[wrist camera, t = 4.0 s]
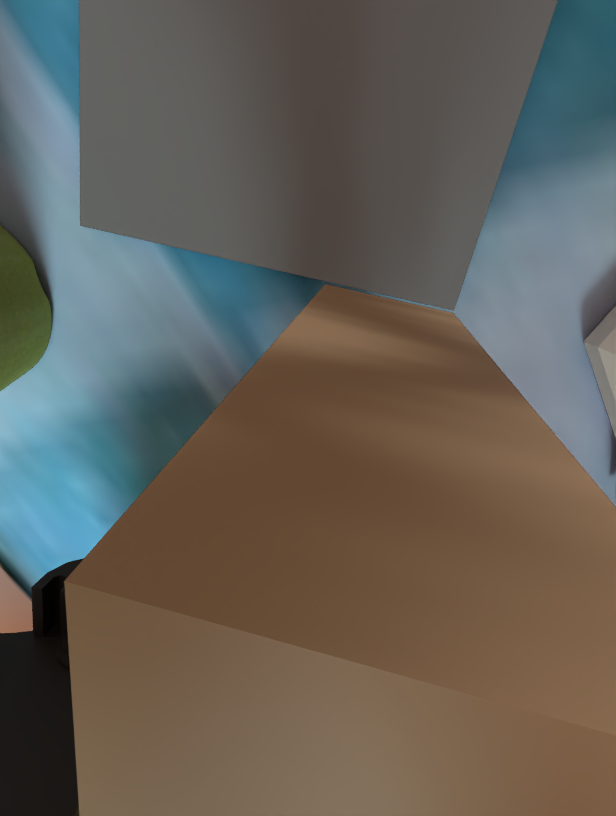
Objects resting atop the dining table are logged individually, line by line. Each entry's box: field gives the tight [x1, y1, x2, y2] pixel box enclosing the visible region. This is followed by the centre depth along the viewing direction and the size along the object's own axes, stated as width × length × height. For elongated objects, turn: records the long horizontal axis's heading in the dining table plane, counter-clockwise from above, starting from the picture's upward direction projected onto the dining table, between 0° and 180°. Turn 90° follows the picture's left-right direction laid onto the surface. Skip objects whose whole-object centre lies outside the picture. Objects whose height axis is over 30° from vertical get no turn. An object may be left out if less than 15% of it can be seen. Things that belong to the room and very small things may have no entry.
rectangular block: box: [64, 284, 616, 816], centre depth 8 cm, size 3×10×9 cm, turn 169°
